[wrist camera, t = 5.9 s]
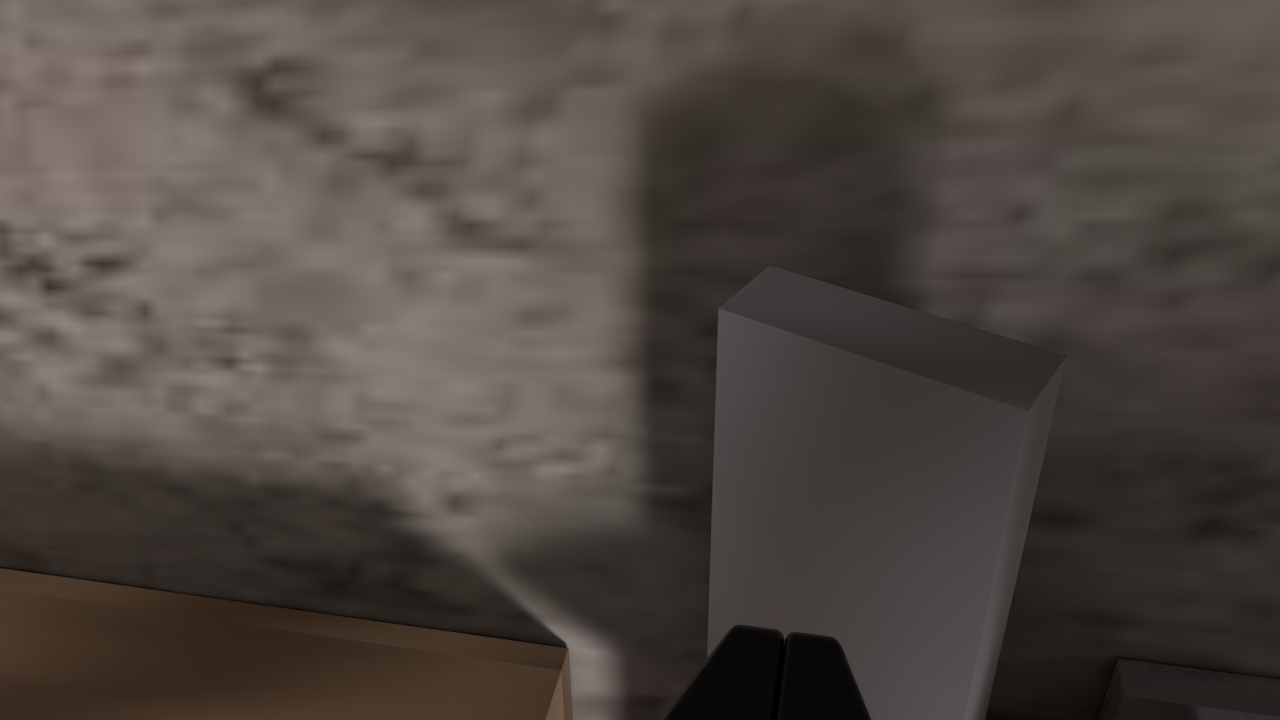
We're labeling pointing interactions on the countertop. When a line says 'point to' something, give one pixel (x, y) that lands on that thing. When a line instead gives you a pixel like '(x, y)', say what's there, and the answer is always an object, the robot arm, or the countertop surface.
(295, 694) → the tray
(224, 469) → the countertop surface
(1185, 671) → the stand
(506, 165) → the countertop surface
